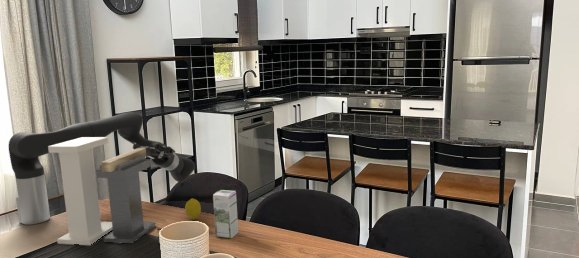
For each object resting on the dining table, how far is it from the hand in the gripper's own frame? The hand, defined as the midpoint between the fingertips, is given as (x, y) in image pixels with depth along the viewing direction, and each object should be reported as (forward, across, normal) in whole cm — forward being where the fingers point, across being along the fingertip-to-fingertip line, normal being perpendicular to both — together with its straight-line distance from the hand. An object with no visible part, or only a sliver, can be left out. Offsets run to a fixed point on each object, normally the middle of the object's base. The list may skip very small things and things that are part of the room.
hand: (145, 145), depth 155 cm
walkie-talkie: (0, +17, +33) cm, 37 cm away
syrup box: (-4, +33, +29) cm, 44 cm away
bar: (+8, 0, +9) cm, 12 cm away
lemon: (-15, +16, +23) cm, 32 cm away
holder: (-2, 0, +31) cm, 31 cm away
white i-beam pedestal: (0, -14, +32) cm, 35 cm away
